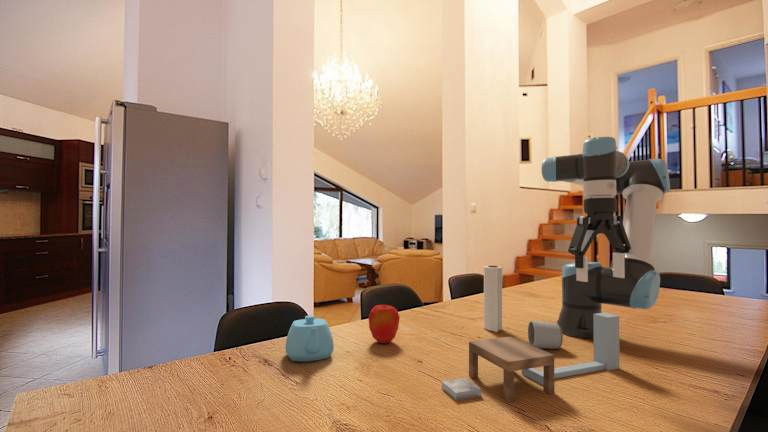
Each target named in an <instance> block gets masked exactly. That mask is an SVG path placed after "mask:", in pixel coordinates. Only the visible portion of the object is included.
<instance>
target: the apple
mask: <svg viewBox="0 0 768 432" xmlns="http://www.w3.org/2000/svg"><path fill="white" fill-rule="evenodd" d="M400 320H401V319H400V314H399V311H398V309H396V308H395V306H392V305H390V304H389V305H388V304H385V303H383V304H377V305H374V306H373V308H372V309H371V310H370V313H369V315H368V327H369V331H370V333H371V336H372V338H373V339H374V340H375V341H377V342H378V344H379V343H380V344H389V343H391V342H392V341H393V340H394V339H395V338H396V335H397V332H398V330H399V325H400Z"/></svg>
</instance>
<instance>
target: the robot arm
mask: <svg viewBox="0 0 768 432" xmlns="http://www.w3.org/2000/svg"><path fill="white" fill-rule="evenodd" d="M617 149H618V146H617V141H616V138H615V137H612V136H597V137H591V138H588V139H585V141H583V144H582V152H581V153H579V154H571V155H568V154H567V155H561V156H560V155H559V156H553V157H548V158H545V159H543V161H542V163H541V176H542V178H543V180H544V181H545V182H550V183H551V182H552V183H553V182H554V183H555V182H565V183H570V184H574V185H580V186H582V188H583V190H582V195H583V197H584V200H583V212H584V213H585V214H586V216H585V215H584V216H583V215H579V216H577V218H576V226H575V229H574V232H573V234H572V237H571V241H570V243H569V246H568V250H567V252H568V253H570V254H571V255H573V256H574V261H575V262H573V263H567V264H565V265H563V266H562V272H561V273H562V274H561V301H562V303H561V310H560V311H559V316H558V319H557V321H556V324H558V325H559V326H560V327H561V329H562V334H563V335H567V336H571V337H575V338H583V339H594V320H593V314H596V313H603V311H602V304H604V305H611V306H616V307H617V306H618V307H624V308H625V307H626V308H630V309H641V310H649V309H651V308H653V306H655V304H656V302H657V300H658V298H659V294H660V289H661V286H660V285H661V276H660V272H659V271H656V269H655V266H654V265H653V264H652V263H651V262H650V260H651V259H650V258H651V252H652V246H653V245H652V243H653V235H654V228H655V227H654V226H655V219H656V211H657V202H659V201H660V200H661V201H662V199H663V197H664V194H667V193H669V192H670V191H671V183H670V174H669V170H668V165H667V163H666V160H665V159H662V158H653V159H652V158H649V159H646V160H645V159H644V160H642V159H641V160H633V161H630V160H629V158H628V156H626V155H625V154H624V152H621V151H618V150H617ZM617 195H622V197H623V198H624V199H625V200H626V201H625V207H624V213H623V216H622V215H614V213H616V212H617V211H618V200H617V198H615V196H617ZM599 234H603V235H604V236H605V237H606V238H607V240H608V241H609V242H608V243H610V245H611V246H612V249H613V251H614V252H612V260H611V261H610V267H607V266H606V267H604V266H603V265H602V262H599V261H594V262H593V261H590V262H589V261H588V255H586V253H587V251H588V250H589V248H590V246H591V245H592V243H593V241H594V239H595V237H596V236H598V235H599Z"/></svg>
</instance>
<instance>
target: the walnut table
mask: <svg viewBox="0 0 768 432" xmlns="http://www.w3.org/2000/svg"><path fill="white" fill-rule="evenodd" d="M479 357H481V358H482V359H485V360H486V361H487V362H489V363H491V364H493V365H495V366H497V367H498V368H501V369H502V370H503V400H504V401H506V402H508V403H511V402H514V401H515V372H517V371H522V370H524V369H530V368H534V369H536V368H541V367H543V370H544V386H543V392H545V393H547V394H548V395H550V394H555V379H554V368H555V354H554V353H551V352H548V351H545V350H543V349H542V348H536V347H534V346H532V345H530V344H529V343H527V342H524V341H522V340H519V339H517V338H515V337H512V336H505V337H504V336H503V337H496V338H494V337H493V338H487V339H486V338H485V339H479V340H471V341H468V377H469V378H471V379H474V378H475V379H477V378H479Z"/></svg>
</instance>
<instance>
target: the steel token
mask: <svg viewBox="0 0 768 432" xmlns="http://www.w3.org/2000/svg"><path fill="white" fill-rule="evenodd" d="M441 389H442V390H443V391H444V392H445V393H446V394H447V395H449V397H451V398H452V399H453V400H454V401H455V400H458V401H462V400H463V401H464V400H468V399H470V400H471V399H476V398H481V397H482V387H480V386H478V385H477V384H476V383H474V382H473V381H471V380H470V379H469V378H467V377H462V378H455V379H449V380H443V381H441Z"/></svg>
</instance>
